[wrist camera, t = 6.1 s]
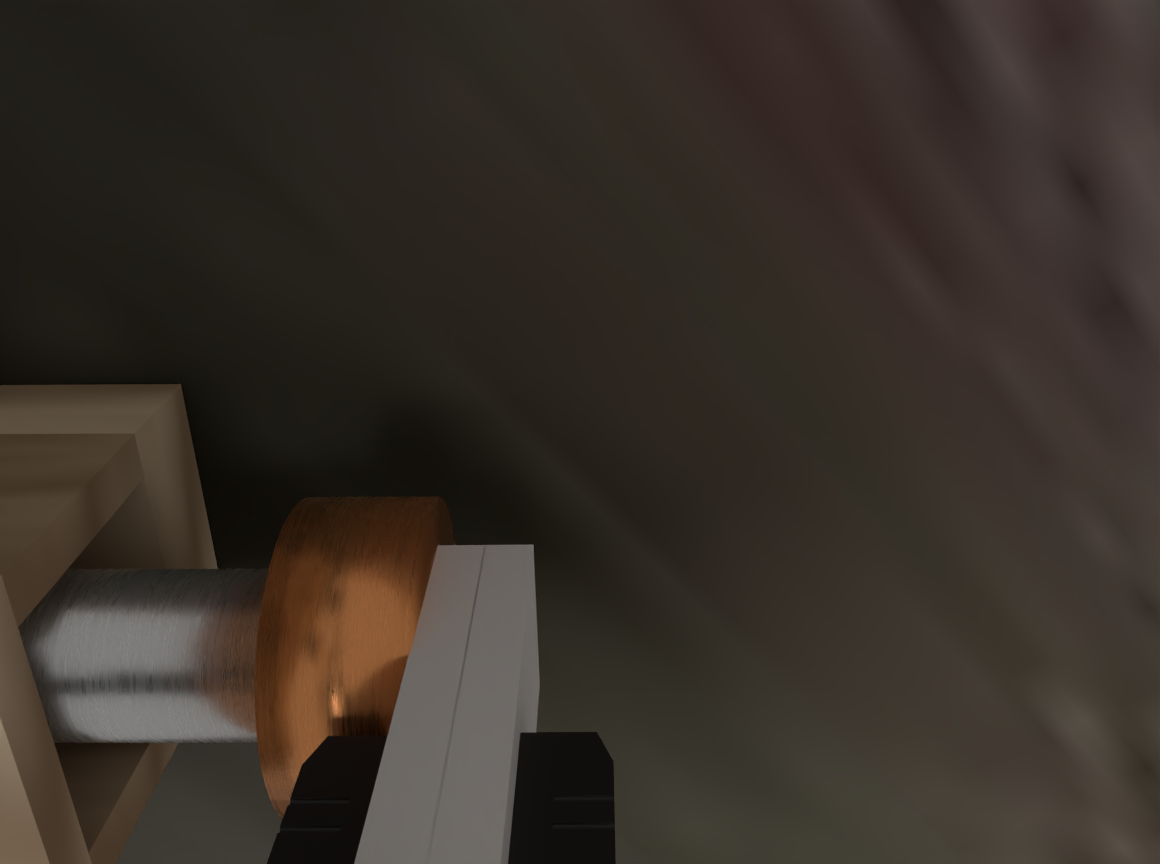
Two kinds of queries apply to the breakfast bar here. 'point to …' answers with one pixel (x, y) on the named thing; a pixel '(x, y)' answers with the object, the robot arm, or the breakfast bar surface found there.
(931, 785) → the breakfast bar surface
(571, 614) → the breakfast bar surface
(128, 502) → the block
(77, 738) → the pin
